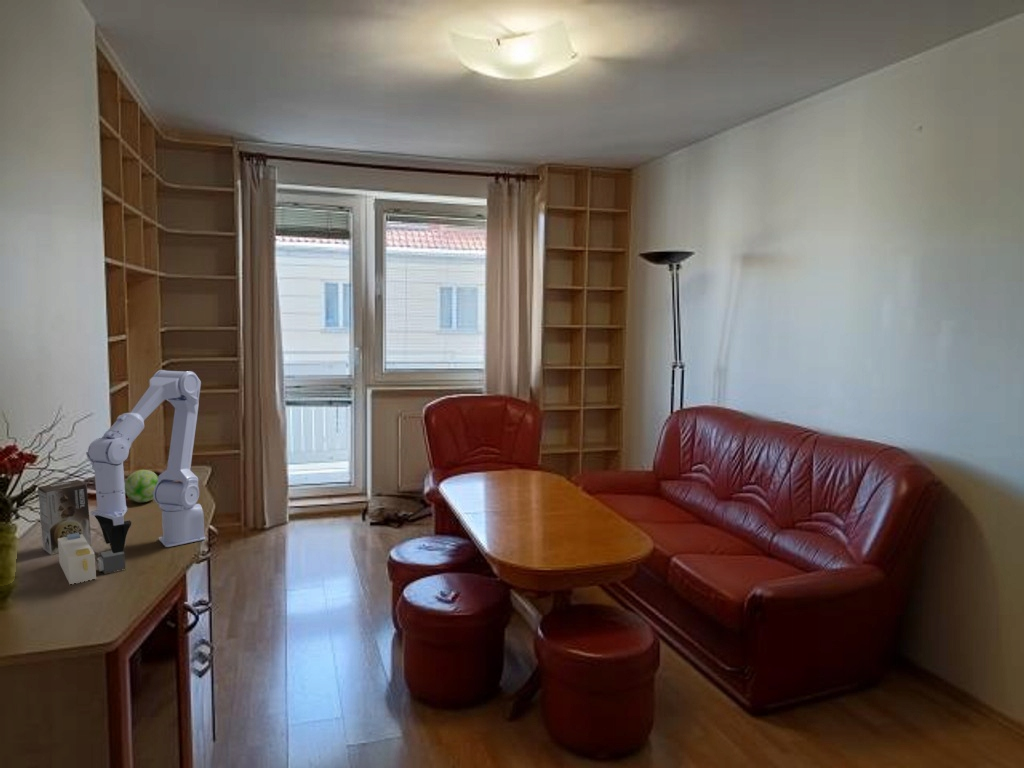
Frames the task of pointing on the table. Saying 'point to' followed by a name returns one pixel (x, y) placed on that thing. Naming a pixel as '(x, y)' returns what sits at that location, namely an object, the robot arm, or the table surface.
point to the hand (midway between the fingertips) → (114, 547)
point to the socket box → (76, 558)
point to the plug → (111, 561)
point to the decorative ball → (141, 485)
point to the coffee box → (63, 512)
